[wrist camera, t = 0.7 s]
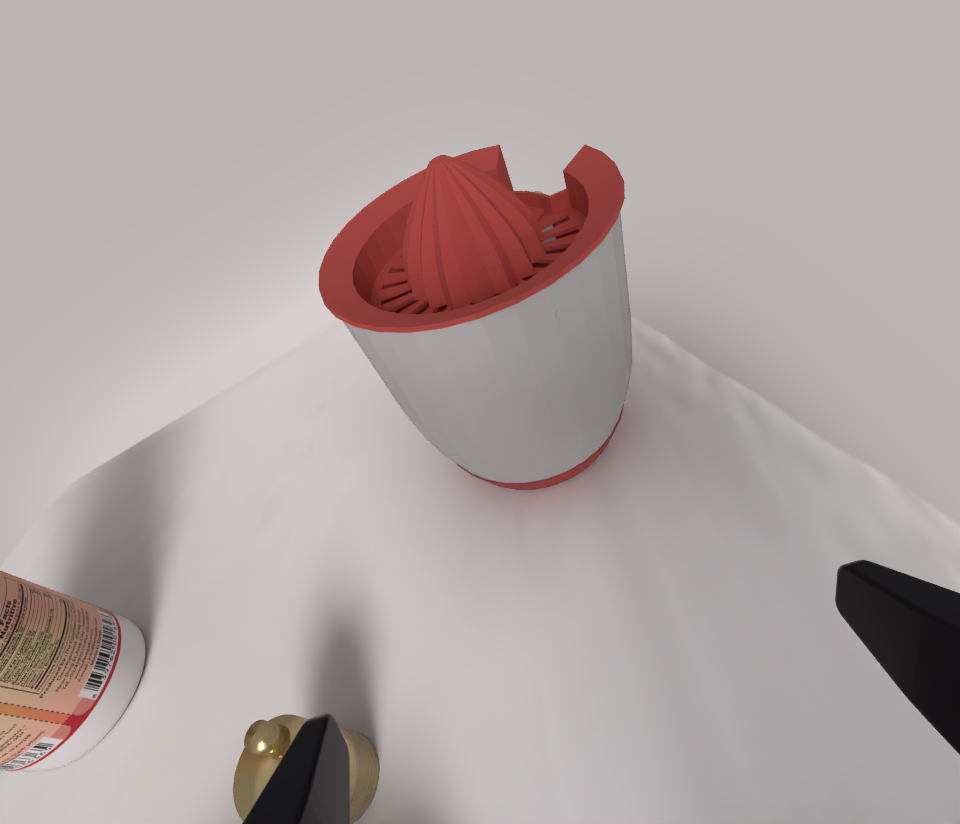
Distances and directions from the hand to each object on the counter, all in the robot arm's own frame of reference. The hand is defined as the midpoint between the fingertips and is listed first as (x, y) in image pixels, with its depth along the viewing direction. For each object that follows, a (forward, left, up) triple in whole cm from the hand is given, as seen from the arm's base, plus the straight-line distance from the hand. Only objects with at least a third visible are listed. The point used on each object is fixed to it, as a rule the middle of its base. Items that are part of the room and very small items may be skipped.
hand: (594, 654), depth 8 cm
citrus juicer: (+22, 0, -19) cm, 29 cm away
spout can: (+2, +15, -19) cm, 25 cm away
